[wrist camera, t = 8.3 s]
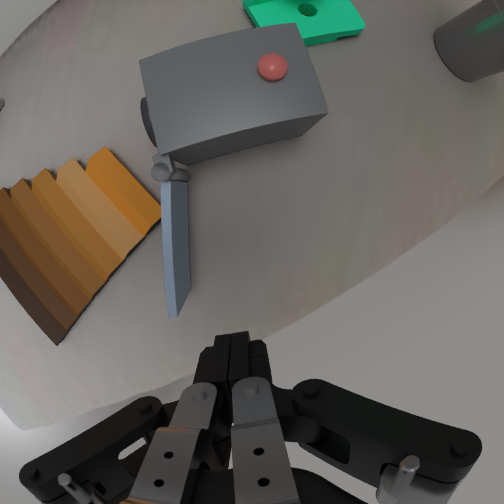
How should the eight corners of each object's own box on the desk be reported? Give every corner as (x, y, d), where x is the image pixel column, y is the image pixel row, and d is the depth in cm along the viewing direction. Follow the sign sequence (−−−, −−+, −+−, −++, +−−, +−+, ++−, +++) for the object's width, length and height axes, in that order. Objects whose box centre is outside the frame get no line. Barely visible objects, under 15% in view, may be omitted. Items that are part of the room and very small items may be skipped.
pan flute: (-25, 218, 28) (63, 339, 33) (-39, 221, 25) (52, 350, 29) (54, 81, 25) (171, 210, 29) (40, 74, 21) (163, 213, 26)
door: (192, 289, 30) (179, 317, 23) (178, 289, 30) (161, 316, 23) (189, 169, 27) (173, 164, 21) (174, 170, 27) (153, 165, 21)
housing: (279, 68, 26) (297, 17, 15) (305, 151, 28) (338, 133, 17) (158, 100, 26) (119, 63, 16) (179, 184, 28) (144, 184, 18)
